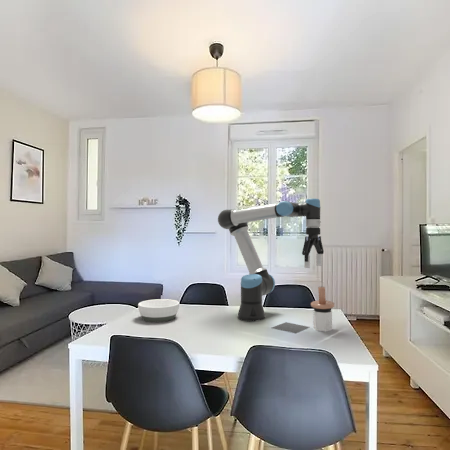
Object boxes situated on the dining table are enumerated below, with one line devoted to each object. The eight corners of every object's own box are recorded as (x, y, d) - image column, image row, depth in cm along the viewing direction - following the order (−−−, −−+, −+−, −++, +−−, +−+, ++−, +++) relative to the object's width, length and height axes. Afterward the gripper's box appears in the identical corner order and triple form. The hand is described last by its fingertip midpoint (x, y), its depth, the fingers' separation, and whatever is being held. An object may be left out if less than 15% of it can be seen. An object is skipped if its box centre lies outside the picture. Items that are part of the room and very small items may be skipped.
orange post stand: (306, 307, 174) (305, 288, 174) (317, 301, 183) (316, 283, 182) (328, 310, 167) (327, 291, 167) (338, 304, 176) (337, 285, 175)
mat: (270, 329, 177) (270, 327, 177) (285, 323, 187) (285, 322, 187) (296, 334, 167) (296, 333, 167) (310, 328, 178) (310, 327, 178)
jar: (322, 333, 169) (322, 308, 169) (309, 329, 176) (309, 304, 176) (335, 330, 174) (335, 305, 174) (322, 326, 181) (322, 302, 181)
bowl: (129, 321, 192) (129, 305, 192) (153, 312, 213) (153, 297, 213) (165, 325, 184) (165, 309, 184) (186, 315, 205) (186, 300, 205)
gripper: (308, 227, 182) (308, 269, 182) (329, 227, 201) (329, 265, 201) (295, 227, 187) (295, 268, 187) (317, 227, 206) (317, 264, 205)
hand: (313, 266), depth 194 cm, fingers open, 13 cm apart
